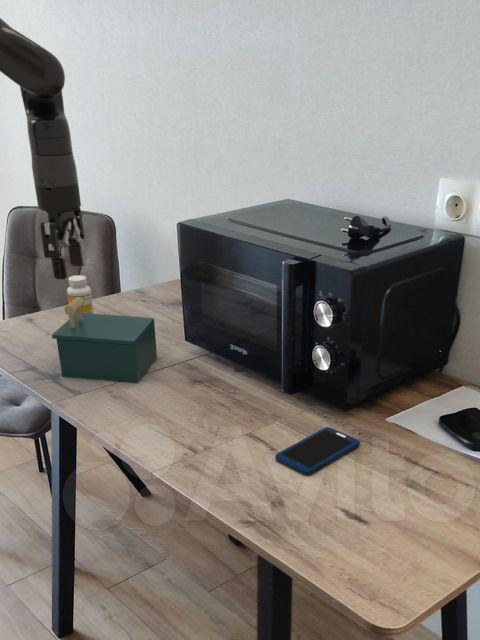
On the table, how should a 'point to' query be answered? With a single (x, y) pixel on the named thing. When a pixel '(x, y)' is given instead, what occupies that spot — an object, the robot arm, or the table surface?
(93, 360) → the dark green rectangular box
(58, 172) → the robot arm
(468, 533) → the table surface
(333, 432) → the cell phone
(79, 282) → the supplement bottle
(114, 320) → the green box lid
